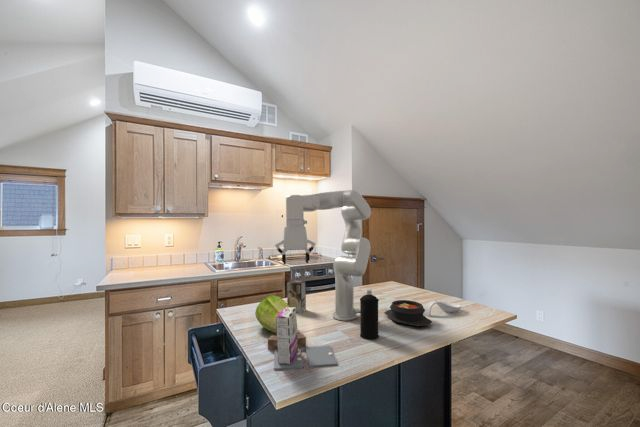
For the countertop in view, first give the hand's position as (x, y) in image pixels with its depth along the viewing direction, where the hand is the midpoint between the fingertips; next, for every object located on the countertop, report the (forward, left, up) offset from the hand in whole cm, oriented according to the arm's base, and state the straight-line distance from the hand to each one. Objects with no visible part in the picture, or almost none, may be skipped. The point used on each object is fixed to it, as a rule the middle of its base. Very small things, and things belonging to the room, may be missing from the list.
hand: (295, 263), depth 121 cm
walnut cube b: (+9, +8, -32) cm, 34 cm away
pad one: (-8, +18, -32) cm, 38 cm away
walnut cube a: (-1, +8, -32) cm, 33 cm away
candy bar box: (+4, +18, -32) cm, 36 cm away
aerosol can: (-32, +3, -32) cm, 46 cm away
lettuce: (+7, -9, -32) cm, 34 cm away
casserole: (-57, -12, -32) cm, 67 cm away
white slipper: (-82, -21, -33) cm, 91 cm away
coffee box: (-3, -36, -32) cm, 49 cm away
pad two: (+4, +18, -32) cm, 37 cm away
